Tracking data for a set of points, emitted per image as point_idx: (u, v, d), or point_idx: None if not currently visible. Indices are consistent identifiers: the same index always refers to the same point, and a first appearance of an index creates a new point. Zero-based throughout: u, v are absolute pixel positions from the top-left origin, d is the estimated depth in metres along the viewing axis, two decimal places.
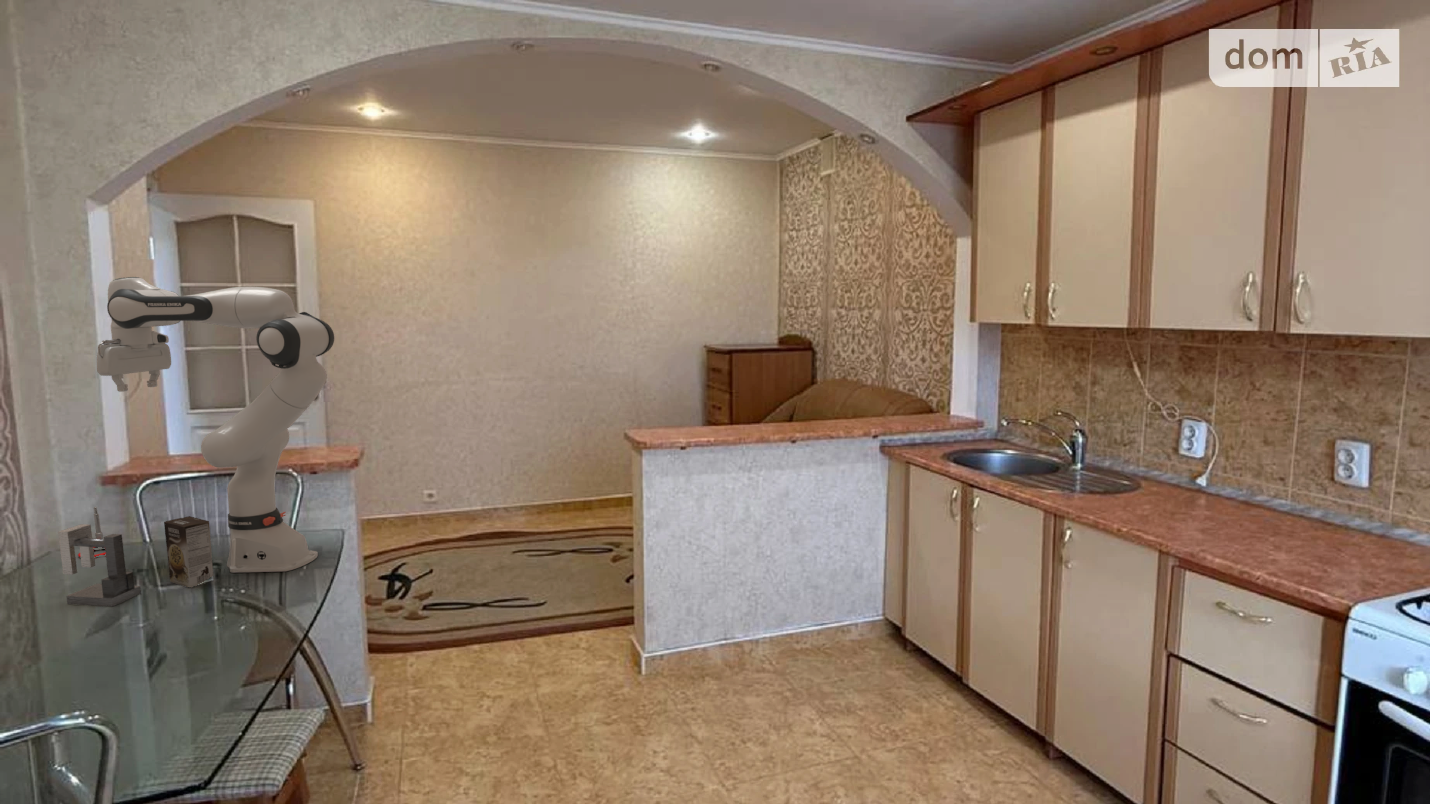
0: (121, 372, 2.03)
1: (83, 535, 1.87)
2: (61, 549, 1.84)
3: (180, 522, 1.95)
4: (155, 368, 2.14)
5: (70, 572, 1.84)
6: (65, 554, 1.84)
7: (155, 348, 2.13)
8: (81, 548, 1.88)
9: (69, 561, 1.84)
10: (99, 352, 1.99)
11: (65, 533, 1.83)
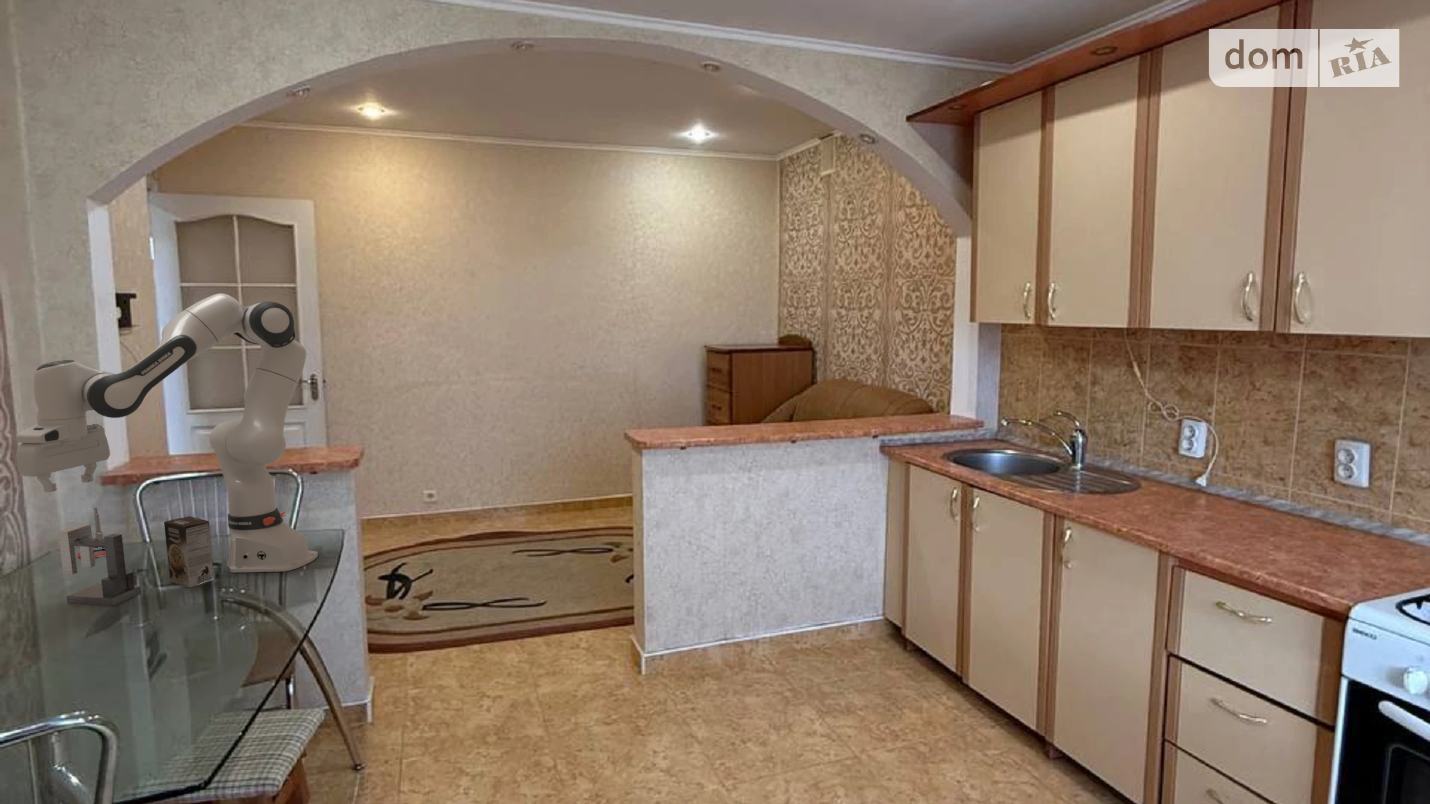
0: None
1: (83, 535, 1.87)
2: (61, 549, 1.84)
3: (180, 522, 1.95)
4: None
5: (70, 572, 1.84)
6: (65, 554, 1.84)
7: None
8: (81, 548, 1.88)
9: (69, 561, 1.84)
10: None
11: (65, 533, 1.83)
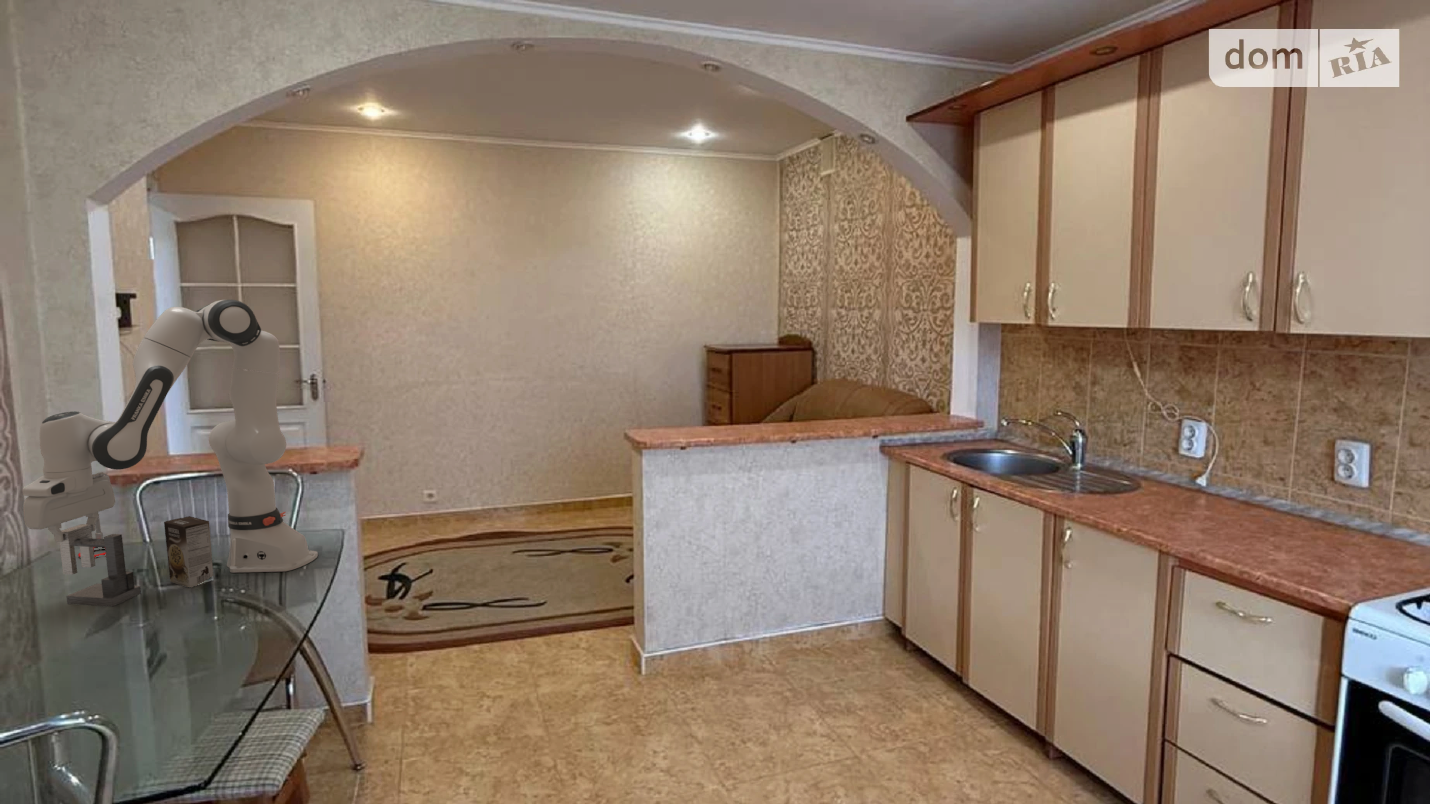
0: None
1: (83, 535, 1.87)
2: (61, 549, 1.84)
3: (180, 522, 1.95)
4: None
5: (70, 572, 1.84)
6: (65, 554, 1.84)
7: None
8: (81, 548, 1.88)
9: (69, 561, 1.84)
10: None
11: None
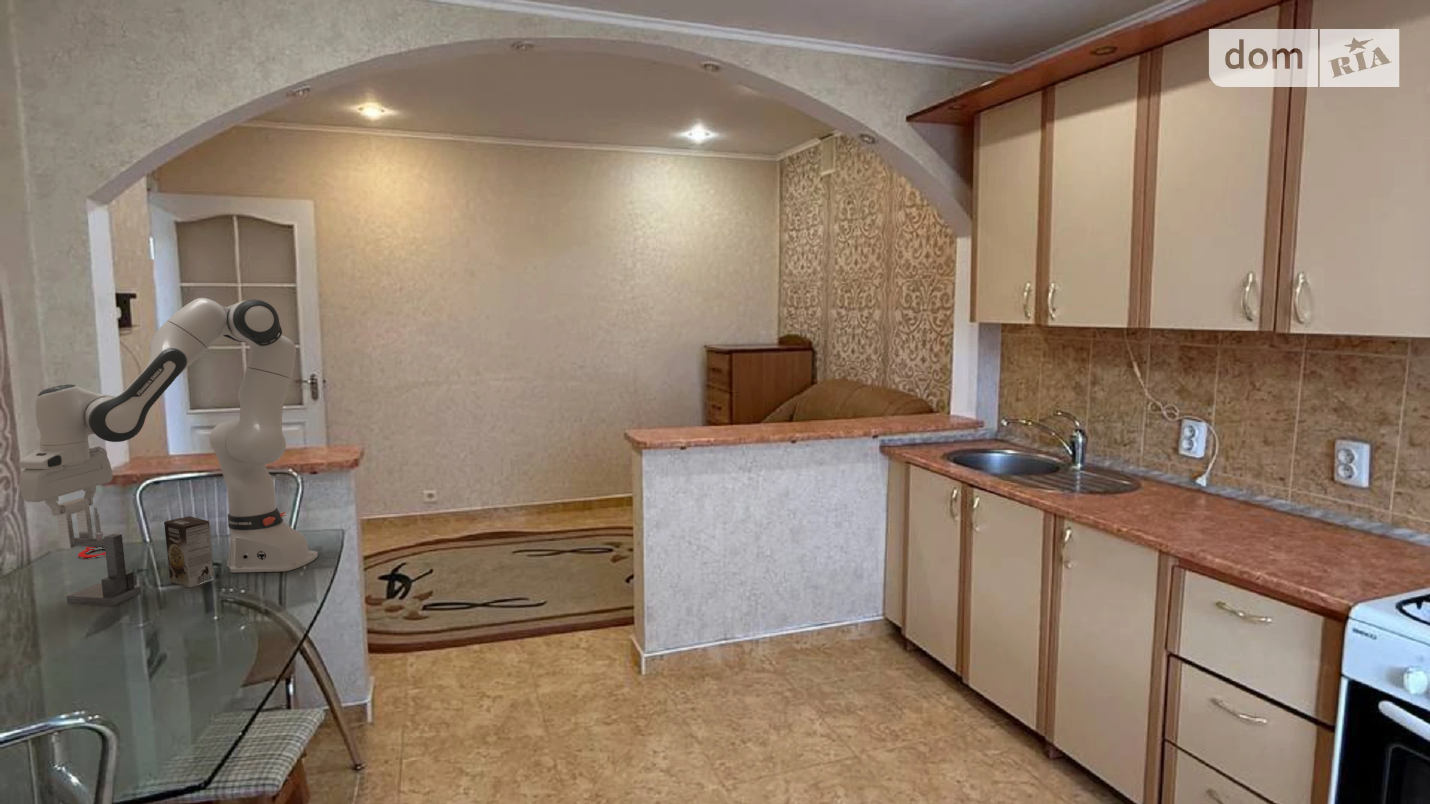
0: None
1: (81, 509, 1.86)
2: (59, 523, 1.83)
3: (180, 522, 1.95)
4: None
5: (68, 546, 1.83)
6: (63, 528, 1.83)
7: None
8: (79, 522, 1.88)
9: (67, 535, 1.83)
10: None
11: (62, 506, 1.82)
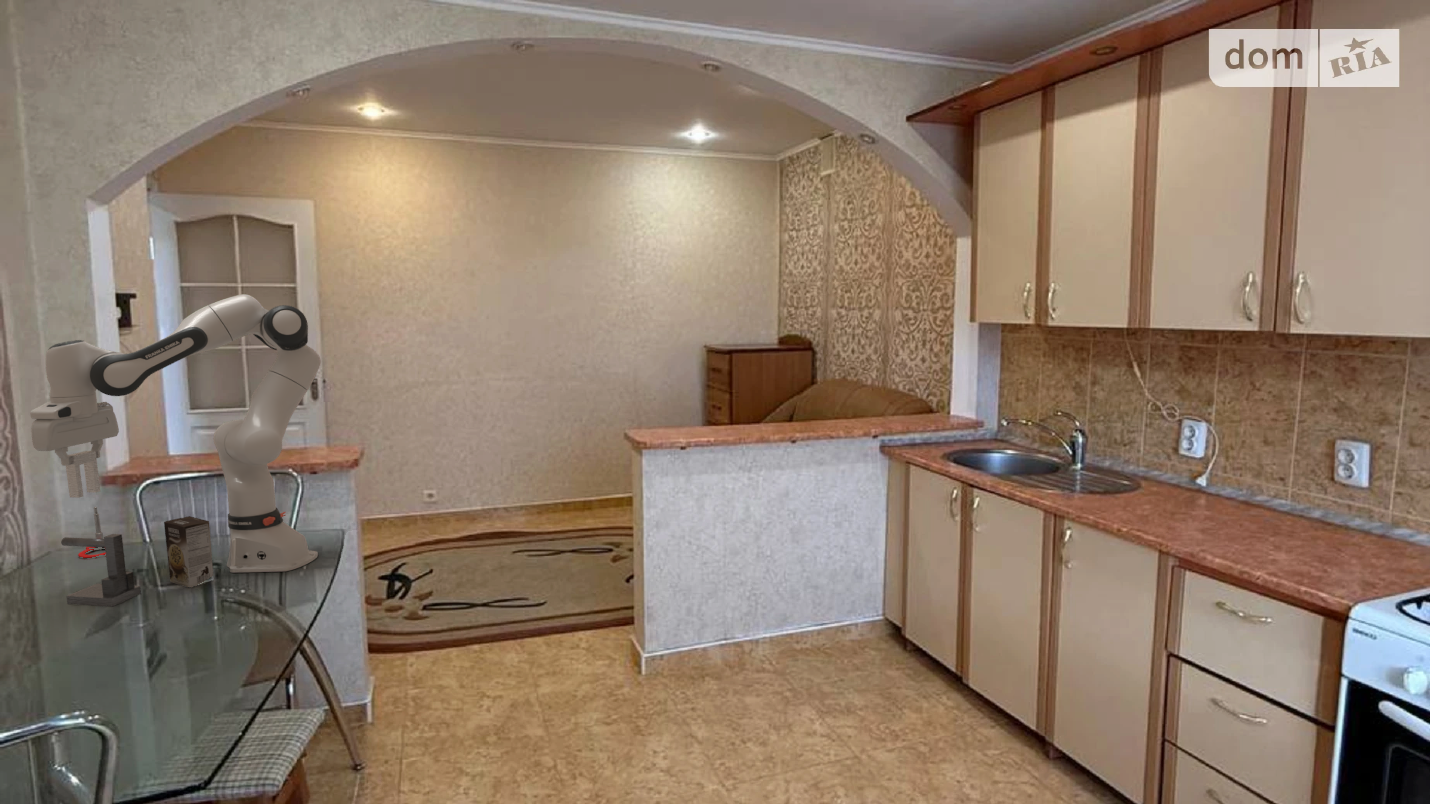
0: None
1: (88, 460, 1.93)
2: (67, 473, 1.90)
3: (180, 522, 1.95)
4: None
5: (76, 495, 1.91)
6: (71, 478, 1.90)
7: None
8: (86, 474, 1.95)
9: (76, 485, 1.90)
10: None
11: None
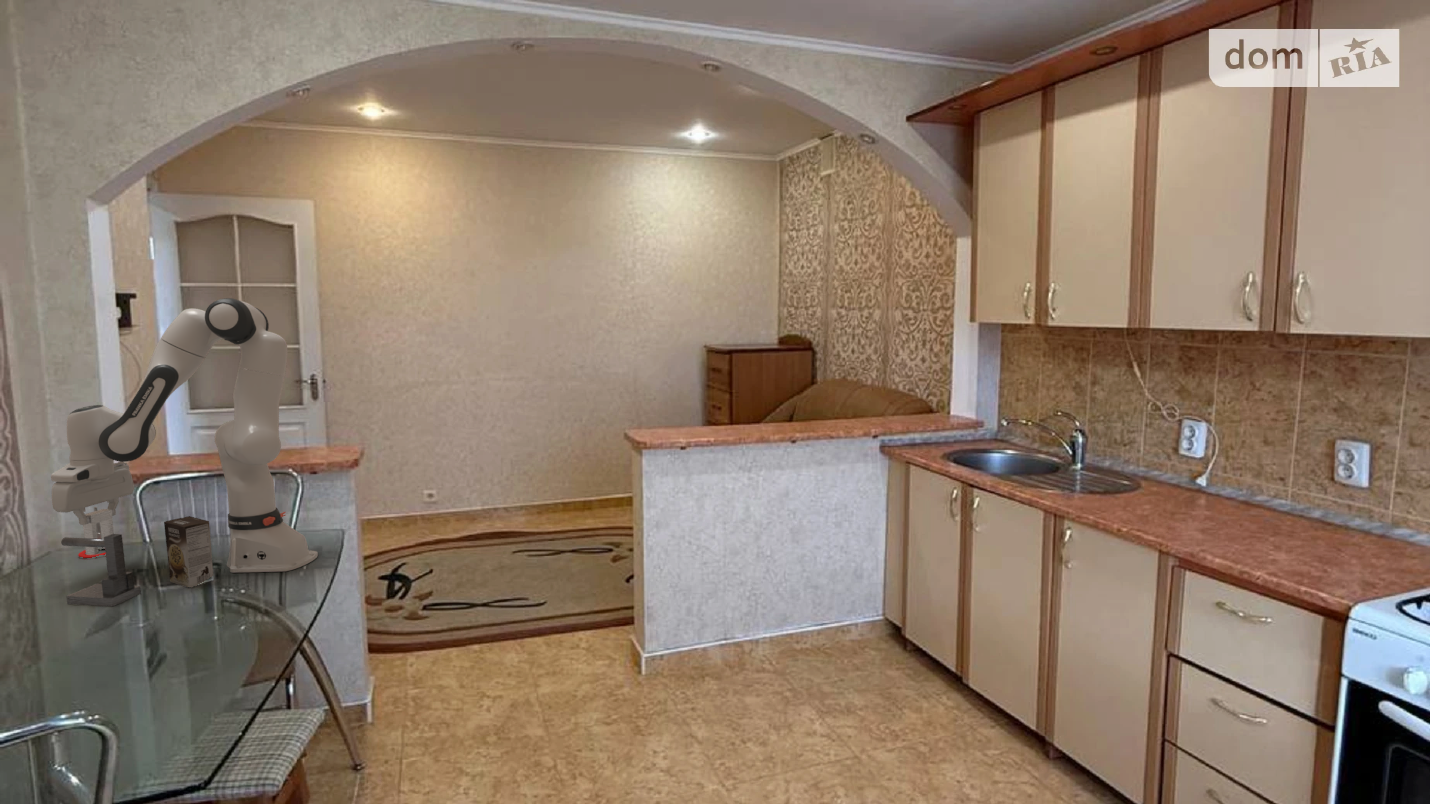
0: None
1: (104, 519, 2.03)
2: (84, 531, 1.99)
3: (180, 522, 1.95)
4: None
5: (92, 552, 2.00)
6: (88, 536, 1.99)
7: None
8: (102, 531, 2.04)
9: None
10: None
11: (88, 516, 1.99)
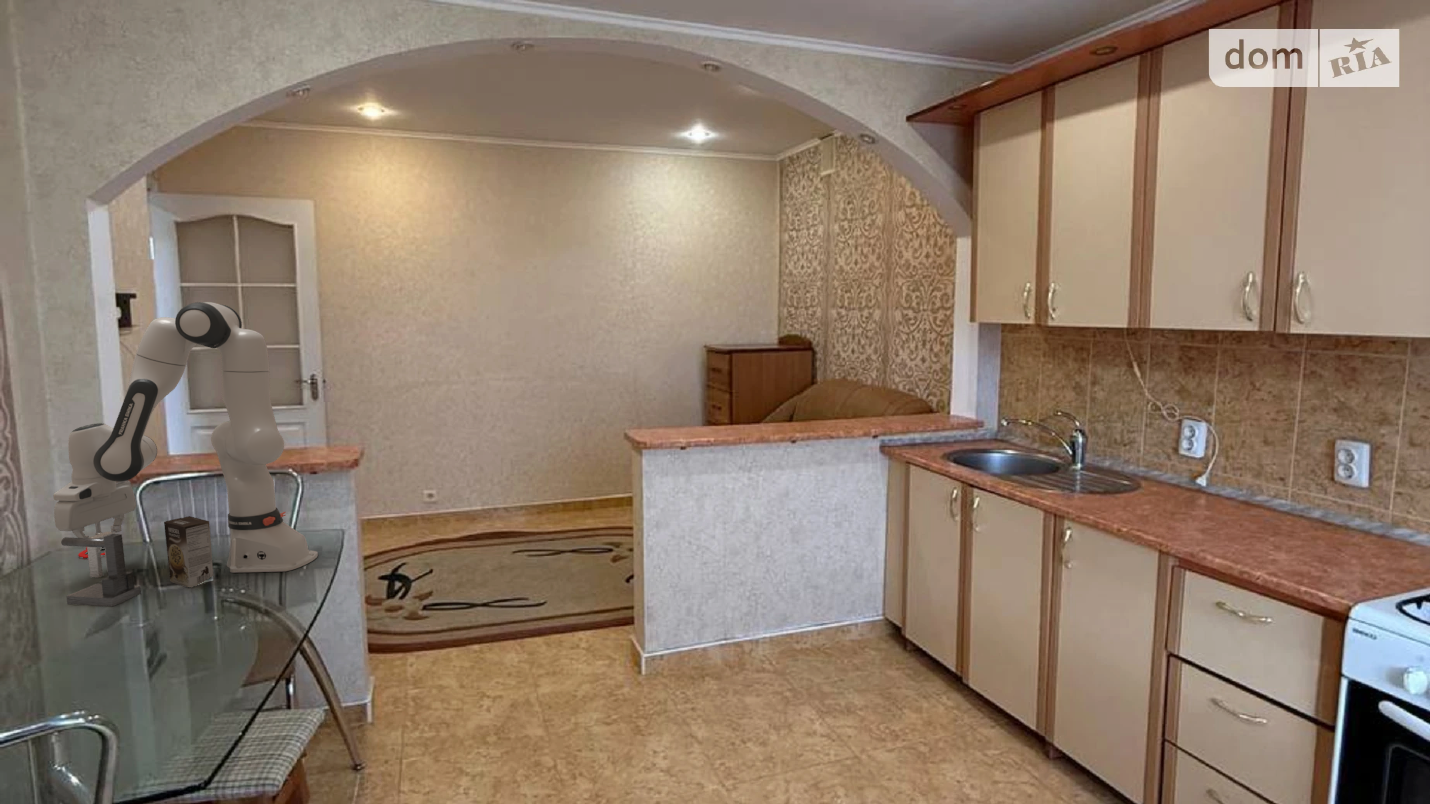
0: None
1: None
2: (89, 554, 2.00)
3: (180, 522, 1.95)
4: None
5: (97, 575, 2.01)
6: (92, 559, 2.00)
7: None
8: None
9: (96, 566, 2.01)
10: None
11: None
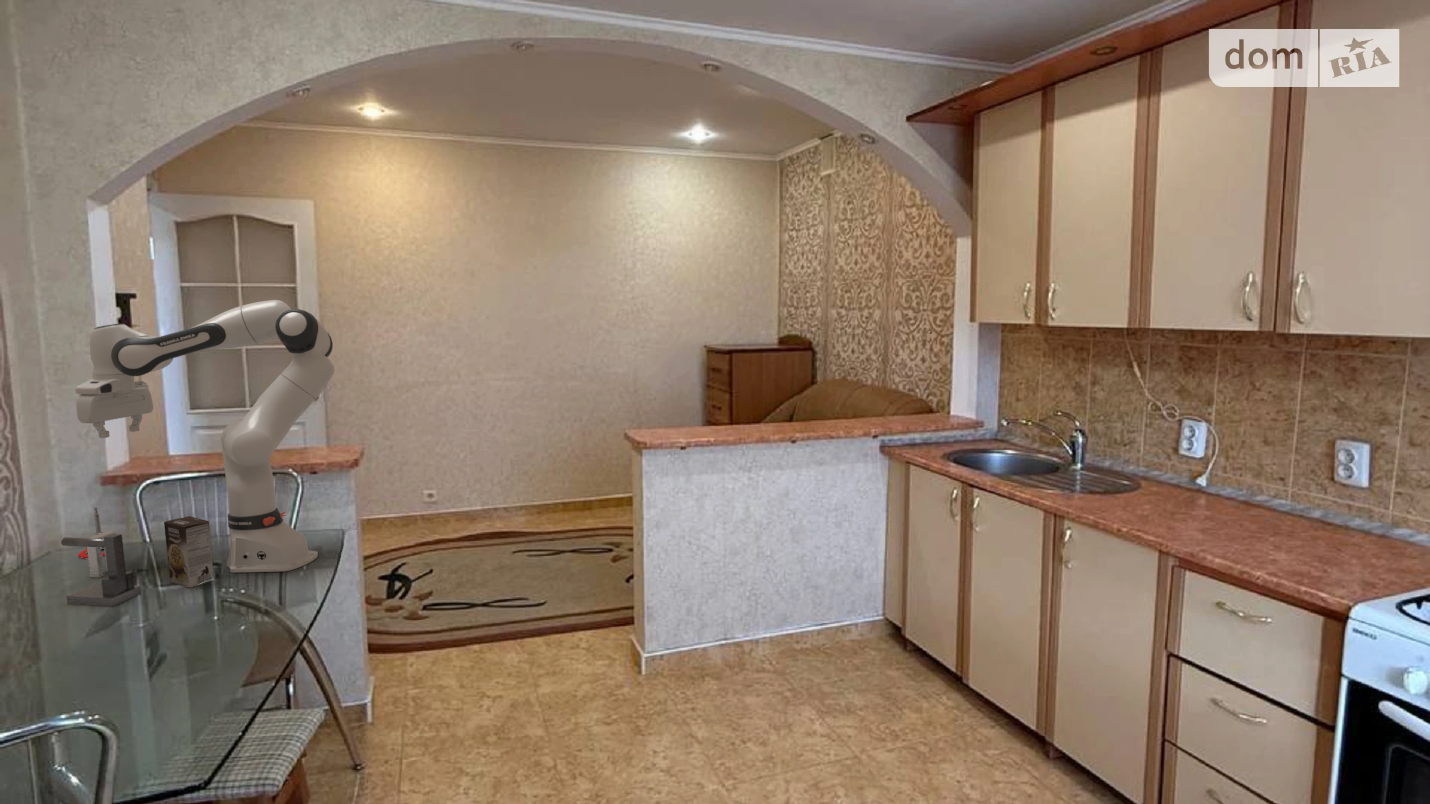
0: None
1: None
2: (88, 554, 2.00)
3: (180, 522, 1.95)
4: None
5: (97, 575, 2.01)
6: (92, 559, 2.00)
7: None
8: None
9: (96, 566, 2.01)
10: None
11: None
